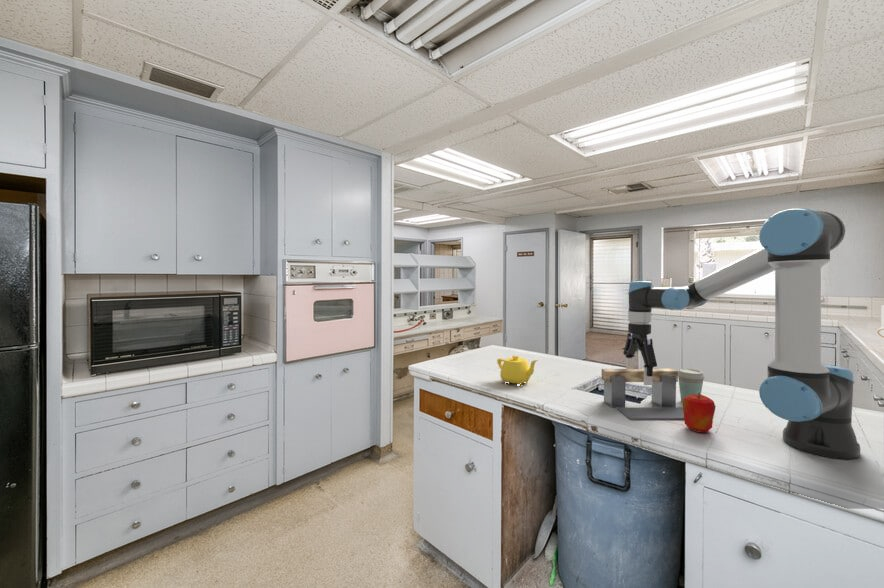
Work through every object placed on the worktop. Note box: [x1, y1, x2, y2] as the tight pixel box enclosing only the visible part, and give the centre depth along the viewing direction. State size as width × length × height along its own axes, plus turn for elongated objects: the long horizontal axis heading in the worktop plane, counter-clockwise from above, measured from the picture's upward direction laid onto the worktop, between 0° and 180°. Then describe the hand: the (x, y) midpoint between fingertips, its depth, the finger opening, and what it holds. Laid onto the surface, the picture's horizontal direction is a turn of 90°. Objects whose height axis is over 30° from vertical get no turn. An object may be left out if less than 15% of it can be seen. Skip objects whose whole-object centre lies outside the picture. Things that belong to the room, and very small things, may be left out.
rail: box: [601, 368, 679, 383], centre depth 138 cm, size 26×4×4 cm, turn 88°
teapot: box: [496, 355, 539, 384], centre depth 168 cm, size 13×20×12 cm
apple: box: [681, 393, 716, 433], centre depth 115 cm, size 9×8×12 cm
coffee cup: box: [677, 368, 705, 403], centre depth 139 cm, size 8×8×12 cm
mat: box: [616, 406, 684, 421], centre depth 128 cm, size 10×24×1 cm, turn 88°
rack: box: [603, 376, 677, 408], centre depth 138 cm, size 7×23×12 cm, turn 88°
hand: (638, 379), depth 138 cm, fingers open, 13 cm apart
